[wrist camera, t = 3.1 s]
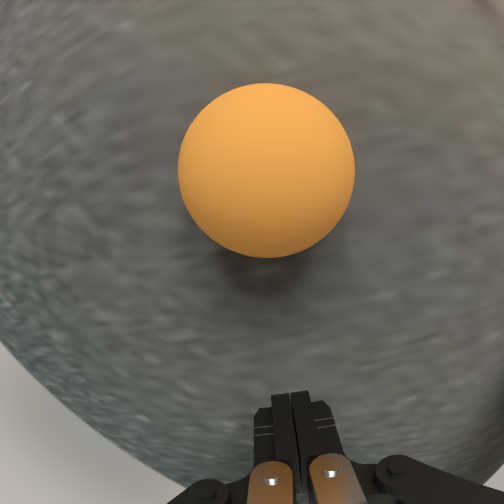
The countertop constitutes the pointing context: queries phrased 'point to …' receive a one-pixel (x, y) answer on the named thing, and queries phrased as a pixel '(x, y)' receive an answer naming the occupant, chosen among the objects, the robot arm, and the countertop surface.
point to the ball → (266, 170)
